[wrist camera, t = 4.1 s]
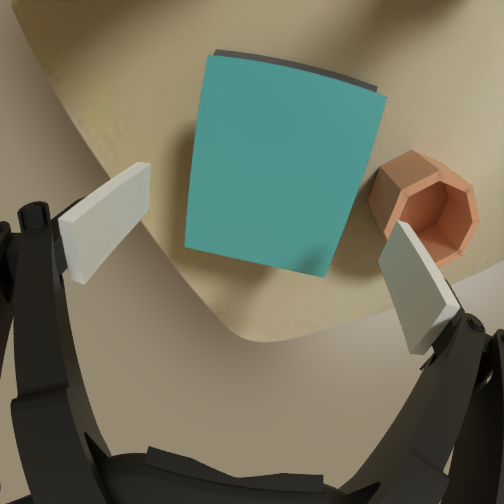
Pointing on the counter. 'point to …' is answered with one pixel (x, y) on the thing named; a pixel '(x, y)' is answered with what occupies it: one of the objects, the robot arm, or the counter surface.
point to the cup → (426, 204)
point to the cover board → (277, 163)
